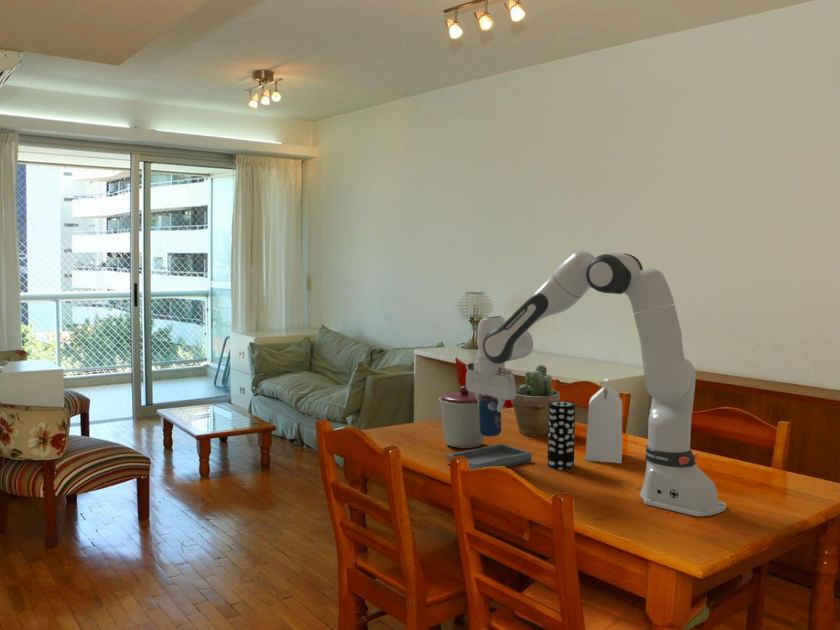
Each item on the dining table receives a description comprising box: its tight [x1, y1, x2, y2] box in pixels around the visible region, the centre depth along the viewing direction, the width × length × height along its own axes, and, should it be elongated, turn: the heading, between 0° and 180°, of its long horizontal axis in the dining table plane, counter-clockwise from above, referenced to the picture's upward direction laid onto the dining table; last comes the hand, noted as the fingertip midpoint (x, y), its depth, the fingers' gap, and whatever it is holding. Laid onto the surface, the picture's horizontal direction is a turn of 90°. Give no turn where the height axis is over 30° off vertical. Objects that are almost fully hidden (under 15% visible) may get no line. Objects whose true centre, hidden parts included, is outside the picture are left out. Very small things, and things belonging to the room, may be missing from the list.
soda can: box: [479, 395, 502, 438], centre depth 237 cm, size 7×7×12 cm
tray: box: [446, 443, 532, 469], centre depth 238 cm, size 14×24×3 cm, turn 127°
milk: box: [584, 377, 623, 464], centre depth 246 cm, size 12×12×26 cm
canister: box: [438, 385, 486, 449], centre depth 260 cm, size 18×18×21 cm
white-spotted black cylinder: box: [546, 400, 576, 471], centre depth 235 cm, size 8×8×20 cm
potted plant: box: [510, 364, 561, 437], centre depth 279 cm, size 18×19×25 cm
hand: (490, 409), depth 237 cm, fingers closed on soda can, 7 cm apart
